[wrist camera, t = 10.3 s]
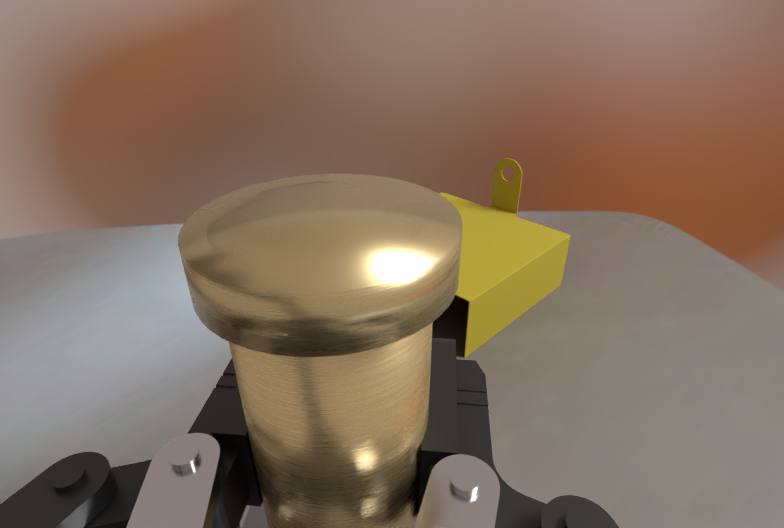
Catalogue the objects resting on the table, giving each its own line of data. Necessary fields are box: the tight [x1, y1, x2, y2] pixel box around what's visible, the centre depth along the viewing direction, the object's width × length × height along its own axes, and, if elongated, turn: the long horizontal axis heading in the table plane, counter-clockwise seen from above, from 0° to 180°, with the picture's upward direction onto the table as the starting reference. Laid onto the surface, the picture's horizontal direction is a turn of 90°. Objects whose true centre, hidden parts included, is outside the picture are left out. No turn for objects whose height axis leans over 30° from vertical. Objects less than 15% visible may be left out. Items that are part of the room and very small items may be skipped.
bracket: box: [439, 158, 571, 358], centre depth 29 cm, size 16×8×15 cm
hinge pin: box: [178, 174, 463, 528], centre depth 11 cm, size 4×4×12 cm
